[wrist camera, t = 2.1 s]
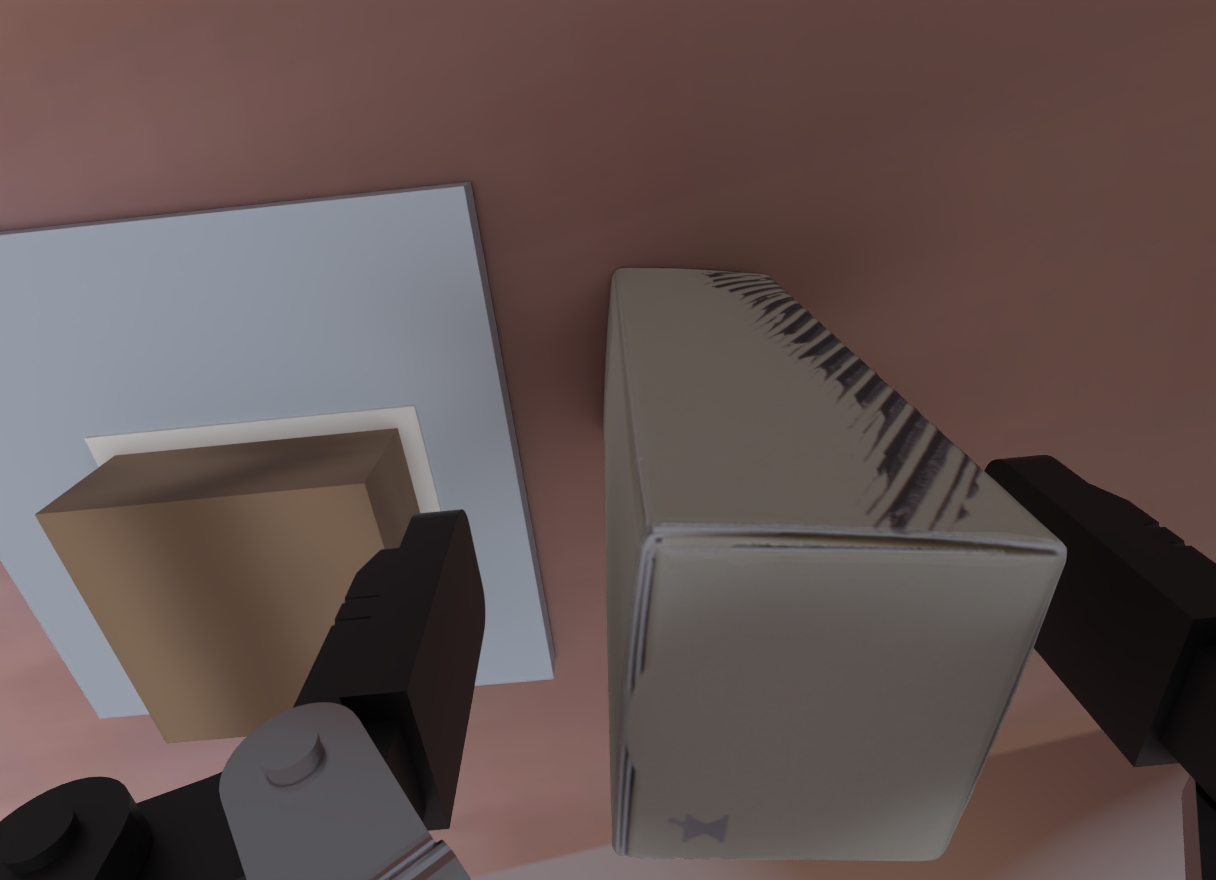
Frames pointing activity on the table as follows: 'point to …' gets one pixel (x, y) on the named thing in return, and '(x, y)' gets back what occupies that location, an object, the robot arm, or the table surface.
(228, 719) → the base block
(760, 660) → the box
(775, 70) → the table surface
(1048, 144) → the table surface
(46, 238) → the board
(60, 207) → the table surface
